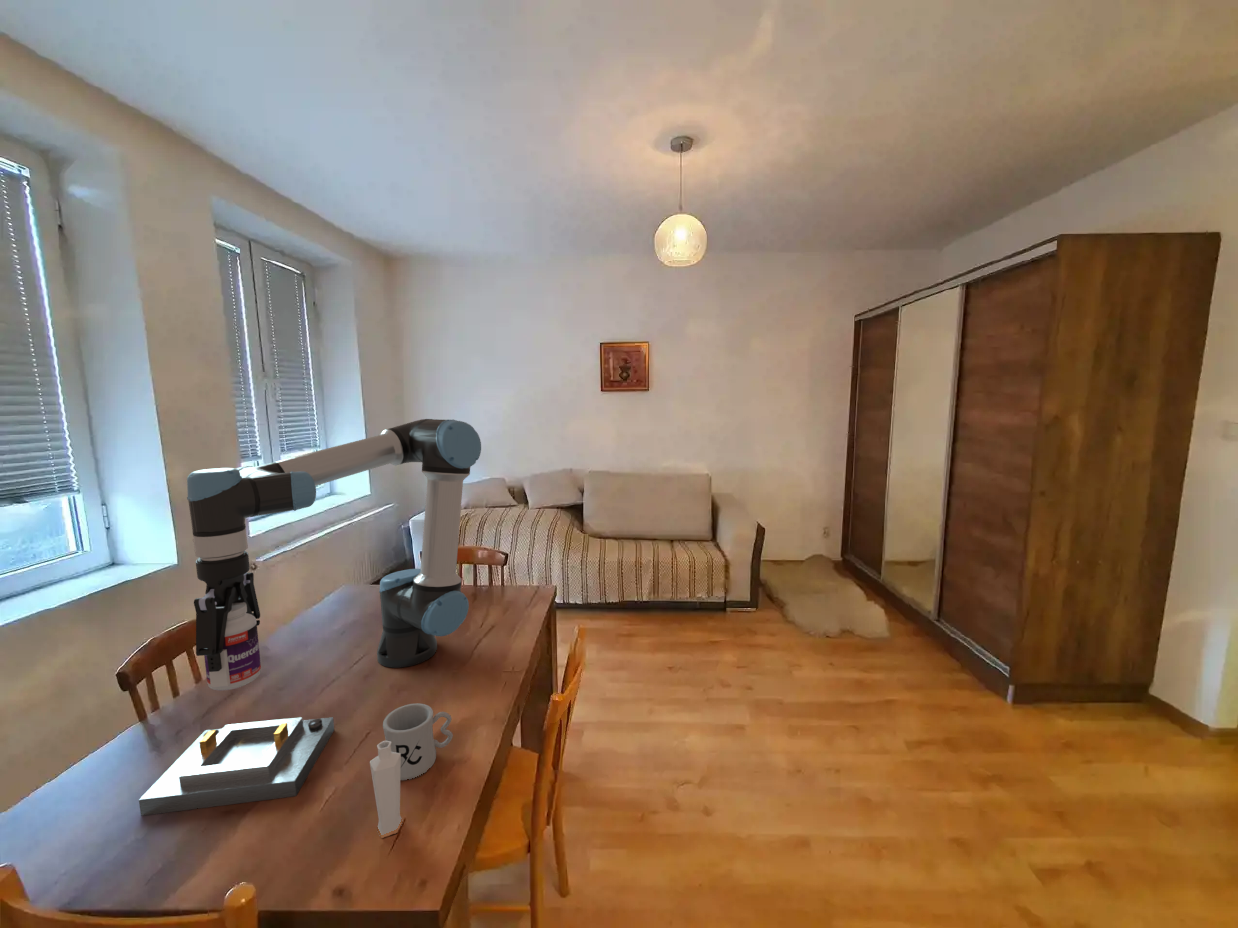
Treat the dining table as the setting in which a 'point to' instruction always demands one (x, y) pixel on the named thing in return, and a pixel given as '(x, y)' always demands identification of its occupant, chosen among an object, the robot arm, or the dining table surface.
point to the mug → (414, 737)
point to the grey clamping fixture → (240, 765)
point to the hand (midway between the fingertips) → (235, 671)
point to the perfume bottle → (387, 787)
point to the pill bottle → (240, 648)
